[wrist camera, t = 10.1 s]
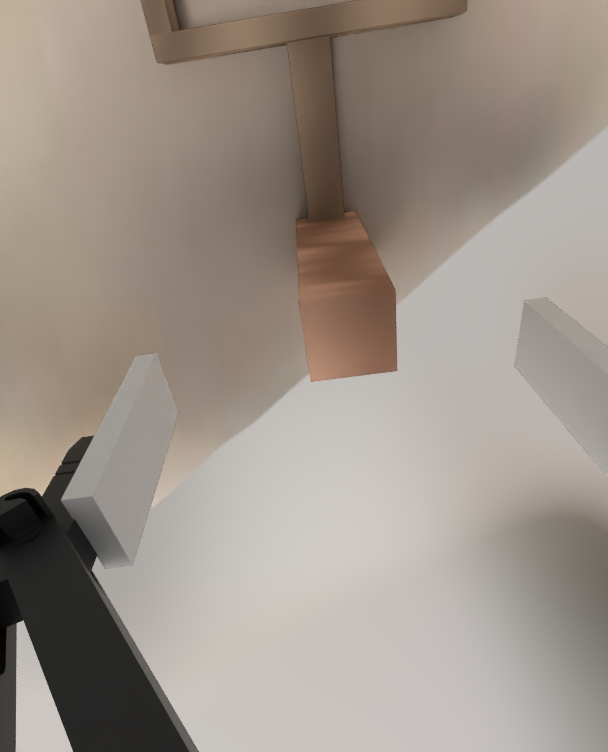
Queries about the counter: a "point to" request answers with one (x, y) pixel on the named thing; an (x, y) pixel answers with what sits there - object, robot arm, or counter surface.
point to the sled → (318, 171)
